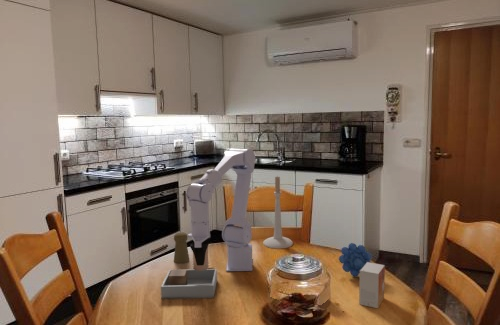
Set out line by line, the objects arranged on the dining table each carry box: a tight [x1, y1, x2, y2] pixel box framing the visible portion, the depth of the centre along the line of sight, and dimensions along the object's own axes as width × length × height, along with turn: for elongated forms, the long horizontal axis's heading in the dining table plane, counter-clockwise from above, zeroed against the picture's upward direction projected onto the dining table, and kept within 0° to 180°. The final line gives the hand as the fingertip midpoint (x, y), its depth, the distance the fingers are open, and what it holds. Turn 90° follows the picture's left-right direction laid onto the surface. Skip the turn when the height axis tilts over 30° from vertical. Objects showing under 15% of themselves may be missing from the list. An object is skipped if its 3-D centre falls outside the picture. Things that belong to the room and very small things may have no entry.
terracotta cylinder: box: [192, 246, 209, 271], centre depth 126 cm, size 5×5×7 cm
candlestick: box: [262, 175, 294, 250], centre depth 169 cm, size 13×13×30 cm
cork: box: [173, 231, 190, 264], centre depth 152 cm, size 6×6×11 cm
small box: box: [358, 261, 386, 309], centre depth 117 cm, size 8×6×10 cm
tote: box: [160, 268, 218, 300], centre depth 127 cm, size 16×13×4 cm
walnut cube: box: [169, 269, 188, 286], centre depth 127 cm, size 5×5×5 cm
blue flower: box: [338, 242, 373, 278], centre depth 134 cm, size 12×7×12 cm, turn 92°
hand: (201, 261), depth 127 cm, fingers closed on terracotta cylinder, 5 cm apart
